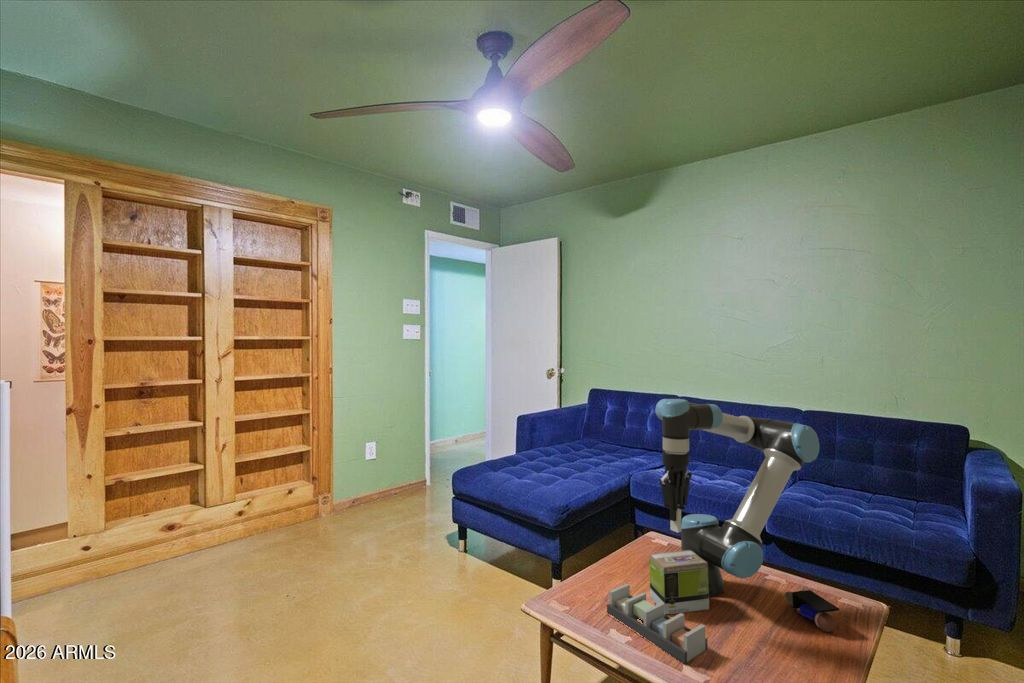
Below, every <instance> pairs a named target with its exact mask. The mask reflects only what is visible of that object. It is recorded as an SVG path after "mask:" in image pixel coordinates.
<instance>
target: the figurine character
mask: <svg viewBox="0 0 1024 683" xmlns="http://www.w3.org/2000/svg"><path fill="white" fill-rule="evenodd" d="M784 597H785V600H786V602H787V603H788V604H790V605H792V608H793V611H795V612H796V613H798V615H799V614H800V615H801V616H802V617H805V618H808V619H809V620H811V621H814V623H815V625H816V627H817V628H818V629H820V630H821V631H823V632H825V633H829V632H833V631H834V630H835V628H836V626H837V625H836V624H837V623H836V620H835V618H834V617H833V616H832V615H831V614H830V613H829V612H838V611H840V608H839V607H837V606H836V605H835V604H833V603H831V602H830V601H828V600H827V599H825V598H823V597H822V596H820V595H818V594H817V593H815V592H814V591H813V590H810V589H809V590H806V589H805V590H798V591H786V592H785V593H784Z"/></svg>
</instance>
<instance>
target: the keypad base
mask: <svg viewBox="0 0 1024 683" xmlns="http://www.w3.org/2000/svg"><path fill="white" fill-rule="evenodd" d="M630 587H631V585H630V584H629V583H625V584H623V585H620V586H618V587H615V588H614V589H611V590H609V592H608V598H609V599H608V604H606V614H607V613H608V614H610V615H612V616H614V617H615V618H616V619H618V620H619V621H621V622H623V623H624V624H625V625H627V626H628V627H630V628H631V629H633V630H635V631H636V632H638V633H639V634H640V635H642V636H643V637H645V638H646V639H648V640H649V641H651V642H652V643H654V644H655V645H656V646H658V647H659V648H661V649H662V650H661V649H660V650H661V651H663V652H664V651H665V652H664V653H666V652H667V653H668V654H667V653H666V654H667V655H669V654H670V655H671V656H670V655H669V656H670V657H672V658H673V657H674V659H675V658H676V659H675V660H677V661H678V660H679V662H680V663H681V662H682V663H681V664H683V665H684V664H685V665H687V664H688V663H690V662H691V661H693V660H694V659H696V658H698V657H699V656H701V655H702V654H703V653H705V652H707V651H708V638H707V637H706V625H704V624H703V623H701V624H700V625H698V626H696V627H694V628H693V629H690V628H689V627H688V626H686V625H685V614H684V613H677V614H676V615H675V616H672V617H671V616H670V617H669V616H668V615H665V614H664V603H662V602H661V603H659V604H657V605H656V604H655V605H654V606H653V607H651V608H649V609H647V610H645V611H643V620H641V618H640V619H639V617H637V616H636V615H634V614H633V604H636V603H638V602H640V601H642V600H645V601H647V593H646V592H641V593H639V594H637V595H635V596H633V595H630V594H631V593H630V591H631V589H630ZM625 597H628V598H630V599H628V600H626V601H625V613H624V612H622V611H620V610H619V609H617V608H616V601H618V600H620V599H623V598H625ZM661 617H663V618H665V619H667V621H665V622H663V636H661V635H659V634H658V633H656V632H654V631H653V630H652V622H654V621H655V620H657V619H659V618H661ZM637 619H639V620H641V621H642V623H643V624H641V623H640V622H638V621H637ZM680 629H684V630H686V631H687V633H686V634H684V649H682V648H681V647H679V646H677V645H676V644H674V643H672V634H673V633H675V632H677V631H679V630H680ZM646 639H645V640H646ZM649 641H648V642H649ZM652 643H651V644H652ZM655 645H654V646H655ZM656 646H655V647H656ZM658 647H657V648H658ZM659 648H658V649H659Z"/></svg>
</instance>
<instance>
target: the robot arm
mask: <svg viewBox="0 0 1024 683" xmlns="http://www.w3.org/2000/svg"><path fill="white" fill-rule="evenodd" d="M654 409H655V410H654V411H655V415H656V417H657V418H658V419H660V420H661V422H662V425H661V426H662V450H663V451H662V457H661V458H662V460H661V461H662V464H663V465H664V466H665V468H664V472H663V473H664V475H663V476H660V477H659V478H658V482H659V483H660V487H661V492H662V499H663V505H664V508H665V509H669V521H670V522H669V525H670V526H669V527H670V531H673V532H675V533H677V534H679V533H681V534H680V538H681V539H680V540H681V541H680V542H681V544H680V545H681V546H680V548H681V550H680V551H684V550H691V551H693V552H694V553H695V554H697V555H698V556H699V557H701V558H702V559H703V560H705V561H706V562H707V563H708V580H709V597H710V596H711V597H712V596H718V595H721V594H722V593H724V590H725V581H724V578H723V576H722V575H723V574H722V572H721V569H722V571H724V572H726V573H727V574H729V575H731V576H734V577H736V578H738V579H747V578H751V577H752V576H754V575H755V574H757V573H758V571H760V569H761V568H762V565H763V561H764V558H763V557H764V551H763V549H762V547H761V546H762V544H763V541H762V538H761V534H762V532H763V529H764V528H765V525H766V524H767V522H768V520H769V518H770V516H771V514H772V512H773V510H774V508H775V507H776V505H777V503H778V500H779V499H780V497H781V495H782V493H783V491H784V489H785V487H786V485H787V483H788V481H789V479H790V478H791V476H792V474H793V472H794V471H799V470H801V469H802V467H803V465H804V463H811V462H814V461H815V460H816V459H817V457H818V455H819V453H820V441H819V437H818V435H817V432H816V431H815V430H814V429H813V428H812V427H811V426H809V425H805V424H801V423H800V422H790V421H785V420H784V421H783V420H778V419H773V418H765V417H752V416H747V415H740V416H736V415H732V414H729V413H725V412H723V411H722V409H721V408H720V407H719V406H718V405H716V404H714V403H705V404H699V403H696V402H689V400H687V399H681V398H663V399H660V400H659V401H658V402H656V405H655V408H654ZM690 431H705V432H708V433H711V434H716V435H721V436H724V437H727V438H732V439H734V440H735V441H736V442H737V443H741V444H744V445H746V446H750V447H752V448H755V449H757V450H759V451H762V452H763V454H764V456H765V458H764V459H763V461H762V463H761V465H760V467H759V469H758V471H757V473H756V474H755V476H754V479H753V480H752V482H751V484H750V485H749V487H748V489H747V491H746V492H745V495H744V496H743V498H742V500H741V502H740V504H739V506H738V507H737V509H736V512H735V513H734V515H733V517H732V518H731V519H727V520H724V522H723V524H722V526H719V522H720V521H719V519H718V518H717V517H716V516H714V515H711V514H706V513H703V514H702V513H693V514H686V515H685V516H683V512H682V511H683V510H684V511H685V510H686V506H687V504H688V496H689V490H690V482H691V479H692V477H693V473H692V472H689V471H688V470H687V469H688V466H690V454H689V451H690Z"/></svg>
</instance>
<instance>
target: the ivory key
mask: <svg viewBox="0 0 1024 683" xmlns="http://www.w3.org/2000/svg"><path fill="white" fill-rule="evenodd" d="M628 599H630V598H628V597H625V598H623V599H620V600H618V601H616V608H617V609H619V610H620V611H622V612H624V613H625V601H626V600H628Z"/></svg>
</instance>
